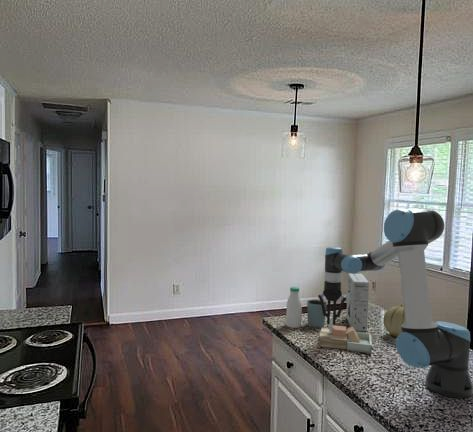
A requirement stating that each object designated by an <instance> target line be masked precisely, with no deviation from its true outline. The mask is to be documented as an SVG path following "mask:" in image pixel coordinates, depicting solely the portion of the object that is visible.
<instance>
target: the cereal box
mask: <svg viewBox="0 0 473 432" xmlns="http://www.w3.org/2000/svg"><path fill="white" fill-rule="evenodd" d="M346 289H347V291H346V293H347V294H346V316H345V317H346V320H347V322H348V324H349V328H350V327H352V326H353V327H354V329H355V331H356V332H368V316H369V314H368V313H369V294H370V293H369V292H370V291H369V289H370V282H369V281H368V280H367V278H366V277H365V275H364V274H362V273H356V274H351V273H350V274H349V273H347V288H346Z"/></svg>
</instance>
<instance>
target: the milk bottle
mask: <svg viewBox="0 0 473 432" xmlns="http://www.w3.org/2000/svg"><path fill="white" fill-rule="evenodd" d="M289 293H290V294H289V297H288V299H287V301H286V312H285V313H286V317H285V325H286V327H288V328H292V329H298V328H301V327H302V312H303V310H302V309H303V308H302V306H303V305H302V300H301V297H300V287H297V286H291V287H290V288H289Z"/></svg>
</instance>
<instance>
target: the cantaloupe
mask: <svg viewBox="0 0 473 432" xmlns="http://www.w3.org/2000/svg"><path fill="white" fill-rule="evenodd" d="M382 321H383V326H384V329H385V330H386V331H387V332H388V333H389V334H390V335H391V336H393V337H396V338H398V335H399V334H401V333H402V327H401V325H402V324H403V323H404V322H405V312H404V304H400V305H399V306H398V305H397V306H396V305H394V306H391V307H390V308H388V309H387V310H386V312H385V313H384V315H383V320H382Z"/></svg>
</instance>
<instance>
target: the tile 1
mask: <svg viewBox="0 0 473 432" xmlns="http://www.w3.org/2000/svg"><path fill="white" fill-rule="evenodd" d="M346 330H347V326H344V325H336V324H335V325H333V329H332V336H339V337H346Z"/></svg>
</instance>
